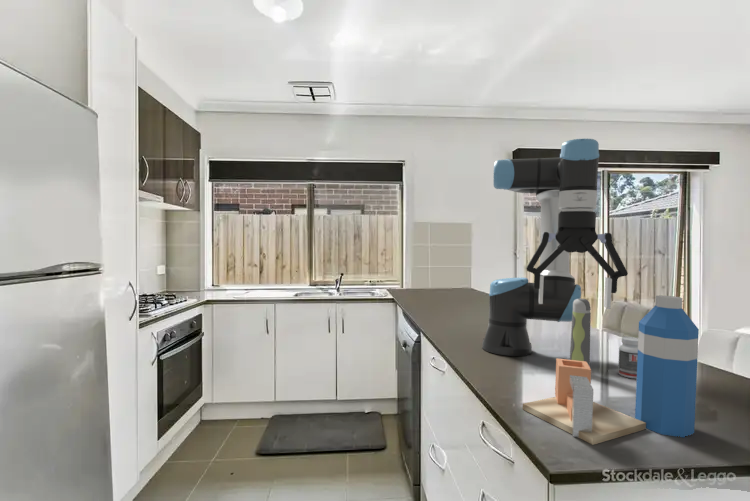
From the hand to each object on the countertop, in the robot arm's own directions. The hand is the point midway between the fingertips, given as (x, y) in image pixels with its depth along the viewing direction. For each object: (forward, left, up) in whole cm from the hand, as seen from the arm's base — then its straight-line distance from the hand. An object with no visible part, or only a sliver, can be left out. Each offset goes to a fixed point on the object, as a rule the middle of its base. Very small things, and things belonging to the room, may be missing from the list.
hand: (573, 305), depth 92 cm
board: (+9, -8, -21) cm, 24 cm away
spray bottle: (-11, +18, -21) cm, 30 cm away
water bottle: (+17, +5, -21) cm, 28 cm away
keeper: (+11, -12, -21) cm, 26 cm away
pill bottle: (-4, +29, -21) cm, 36 cm away
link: (+7, -7, -20) cm, 22 cm away
